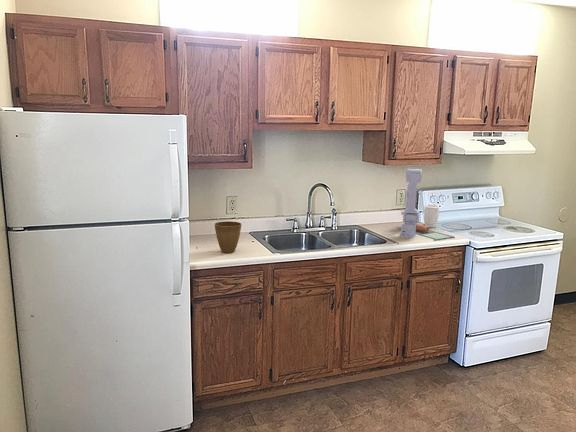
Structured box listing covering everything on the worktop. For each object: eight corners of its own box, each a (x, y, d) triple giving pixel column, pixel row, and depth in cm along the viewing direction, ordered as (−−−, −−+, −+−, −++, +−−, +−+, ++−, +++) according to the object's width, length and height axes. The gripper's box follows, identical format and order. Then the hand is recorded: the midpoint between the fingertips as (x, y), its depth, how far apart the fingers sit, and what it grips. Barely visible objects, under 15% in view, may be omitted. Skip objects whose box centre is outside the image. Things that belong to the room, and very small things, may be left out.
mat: (435, 240, 306) (435, 239, 305) (402, 231, 330) (402, 230, 330) (454, 237, 315) (454, 236, 314) (421, 228, 339) (421, 227, 339)
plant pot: (245, 253, 268) (246, 225, 265) (220, 256, 260) (220, 227, 257) (234, 246, 280) (234, 219, 277) (210, 249, 273) (210, 222, 270)
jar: (438, 228, 341) (440, 207, 338) (423, 227, 342) (425, 206, 339) (436, 225, 351) (438, 205, 348) (421, 224, 353) (423, 204, 350)
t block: (420, 234, 320) (421, 228, 319) (407, 230, 330) (407, 224, 329) (433, 232, 326) (433, 226, 325) (420, 228, 336) (420, 223, 335)
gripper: (422, 208, 330) (420, 227, 333) (406, 205, 342) (405, 223, 345) (414, 209, 327) (413, 228, 329) (399, 205, 339) (398, 224, 342)
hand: (408, 226), depth 337 cm, fingers closed
